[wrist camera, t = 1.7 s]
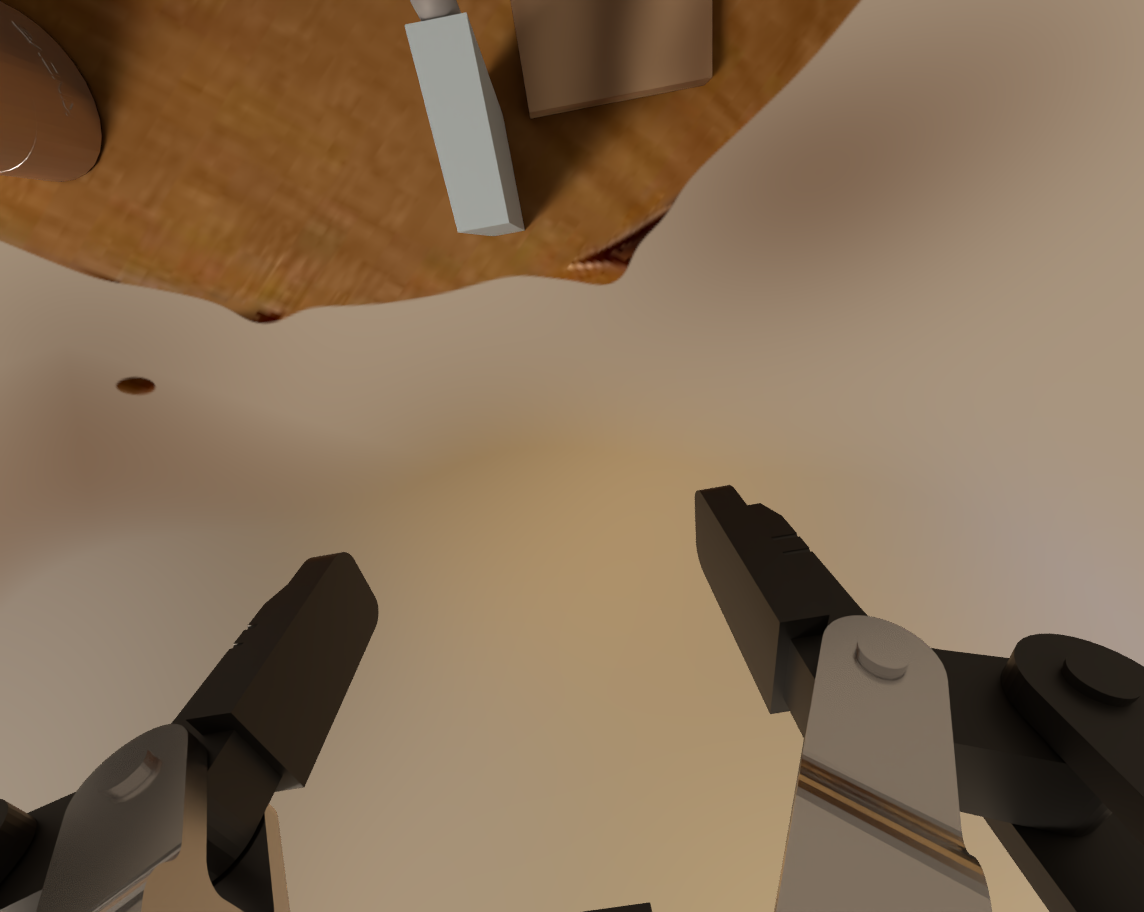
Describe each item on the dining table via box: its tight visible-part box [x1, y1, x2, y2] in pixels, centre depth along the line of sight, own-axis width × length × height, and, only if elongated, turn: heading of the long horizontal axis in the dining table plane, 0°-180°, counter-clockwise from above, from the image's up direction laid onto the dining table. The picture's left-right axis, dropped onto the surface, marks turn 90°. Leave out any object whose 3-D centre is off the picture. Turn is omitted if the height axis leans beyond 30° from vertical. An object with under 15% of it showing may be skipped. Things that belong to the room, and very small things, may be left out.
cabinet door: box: [405, 0, 525, 236], centre depth 23 cm, size 2×9×14 cm, turn 9°
